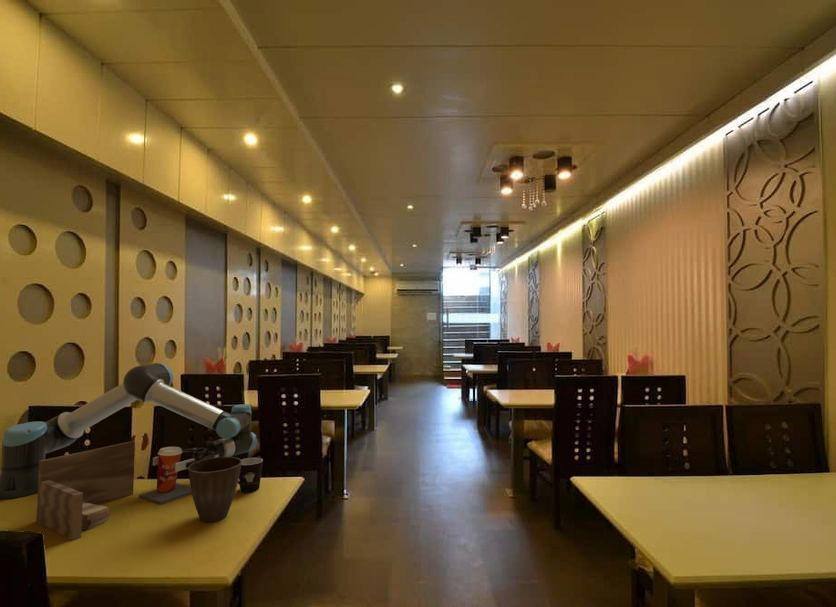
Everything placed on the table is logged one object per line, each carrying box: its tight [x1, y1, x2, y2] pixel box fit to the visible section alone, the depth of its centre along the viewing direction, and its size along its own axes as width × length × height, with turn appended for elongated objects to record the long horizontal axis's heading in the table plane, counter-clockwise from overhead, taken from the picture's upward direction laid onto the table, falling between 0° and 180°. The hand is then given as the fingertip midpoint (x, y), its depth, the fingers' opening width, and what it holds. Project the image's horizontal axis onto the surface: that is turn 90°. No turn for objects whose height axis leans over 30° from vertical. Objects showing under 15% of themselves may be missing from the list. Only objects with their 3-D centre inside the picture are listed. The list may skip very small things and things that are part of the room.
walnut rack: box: [36, 440, 136, 541], centre depth 133 cm, size 24×26×18 cm
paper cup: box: [156, 446, 183, 492], centre depth 151 cm, size 8×8×14 cm
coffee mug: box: [237, 457, 264, 493], centre depth 153 cm, size 12×9×10 cm
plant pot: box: [187, 456, 242, 523], centre depth 130 cm, size 15×15×16 cm
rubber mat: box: [138, 482, 192, 505], centre depth 148 cm, size 13×13×1 cm
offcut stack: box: [81, 502, 111, 531], centre depth 126 cm, size 12×7×4 cm, turn 74°
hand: (164, 464), depth 147 cm, fingers open, 13 cm apart
